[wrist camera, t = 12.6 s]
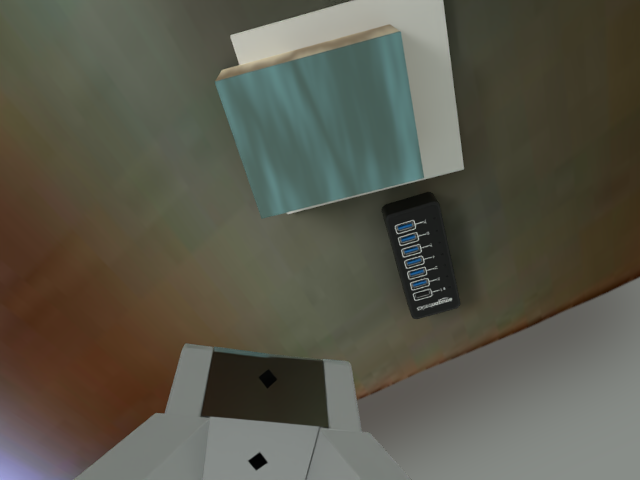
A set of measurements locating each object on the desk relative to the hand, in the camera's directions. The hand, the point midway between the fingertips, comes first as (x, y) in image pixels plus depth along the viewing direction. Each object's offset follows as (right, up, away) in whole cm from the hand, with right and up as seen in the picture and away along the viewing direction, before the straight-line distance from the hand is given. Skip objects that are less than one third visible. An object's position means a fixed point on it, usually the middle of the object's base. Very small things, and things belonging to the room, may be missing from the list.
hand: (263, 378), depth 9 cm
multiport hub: (+10, +2, +36) cm, 37 cm away
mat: (+4, +13, +29) cm, 32 cm away
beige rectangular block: (-4, +9, +27) cm, 29 cm away
